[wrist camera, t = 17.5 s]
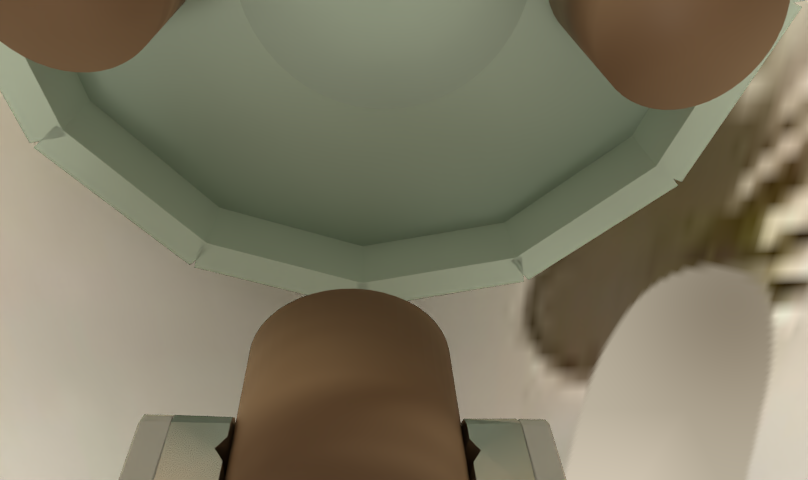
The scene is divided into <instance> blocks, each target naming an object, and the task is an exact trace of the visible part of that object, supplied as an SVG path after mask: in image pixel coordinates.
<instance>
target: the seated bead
mask: <svg viewBox="0 0 808 480" xmlns="http://www.w3.org/2000/svg"><path fill="white" fill-rule="evenodd" d="M549 3H550V7H551V9H552V11H553V14H554V16H555V17H556V19H557V21H558V22H559V23H560V25H561V26H562V27H563V28H564V30H565V31H566V32H567V33H568V34H569V35H570V37H571V38H572V39H573V40H574V41H575V42H576V44H577V45H578V46H579V47H580V48H581V49H582V51H583V52H584V53H585V54H586V55H587V57H588V58H589V59H590V60H591V61H592V62H593V64H594V65H595V66H596V67H597V68H598V69H599V71H600V72H601V73H602V74H603V75H604V76H605V78H606V79H607V80H608V81H609V82H610V84H611V85H612V86H613V87H614V88H615V89H616V90H617V91H618V92H619V93H620V94H621V95H622V96H624V97H625V98H627V99H629V100H630V101H632V102H634V103H636V104H639V105H641V106H644V107H648V108H652V109H660V110H676V109H684V108H689V107H693V106H697V105H700V104H703V103H705V102H708V101H710V100H713V99H715V98H717V97H719V96H721V95H722V94H724V93H726V92H727V91H729V90H731V89H732V88H733V87H735V86H736V85H737V84H739V83H740V82H741V81H743V80H744V79H745V78H746V77H747V76H748V75H749V74H750V73H752V72H753V70H754V69H755V68H756V67H757V66H758V65H759V64H760V63H761V62H762V60H763V59H764V58H765V56H766V55H767V54H768V52H769V51H770V49H771V48H772V46H773V44H774V43H775V41H776V40H777V38H778V35H779V33H780V31H781V29H782V27H783V24H784V21H785V19H786V16H787V12H788V8H789V3H790V0H549Z"/></svg>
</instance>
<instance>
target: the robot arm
mask: <svg viewBox="0 0 808 480" xmlns="http://www.w3.org/2000/svg"><path fill="white" fill-rule="evenodd" d="M235 425H236V423H235V418H234V417H212V416H185V415H144V416H143V418H142V419H141V420H140V422H139V423H138V426H137V429H136V432H135V435H134V437H133V440H132V443H131V446H130V449H129V452H128V454H127V457H126V460H125V463H124V466H123V469H122V471H121V474H120V477H119V480H225V475H226V470H227V465H228V460H229V455H230V450H231V445H232V440H233V435H234V430H235ZM461 428H462V435H463V441H464V447H465V454H466V460H467V466H468V472H469V479H470V480H566V477H565V474H564V470H563V467H562V464H561V461H560V457H559V454H558V451H557V447H556V444H555V441H554V438H553V434H552V431H551V428H550V425H549V423H548V422H547V421H546V420H528V419H519V420H517V419H463V421H462V423H461Z"/></svg>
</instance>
